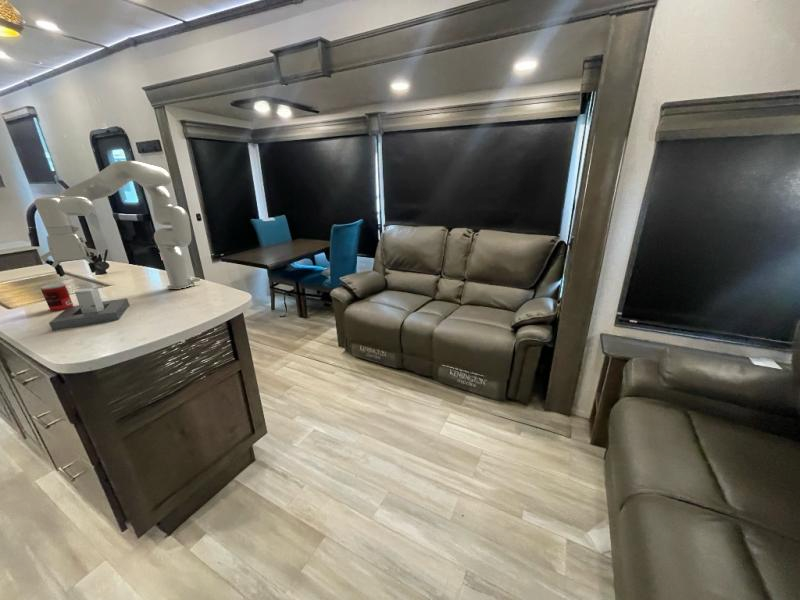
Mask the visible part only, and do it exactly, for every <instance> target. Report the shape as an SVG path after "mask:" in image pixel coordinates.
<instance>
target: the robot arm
mask: <svg viewBox="0 0 800 600" xmlns="http://www.w3.org/2000/svg"><path fill="white" fill-rule="evenodd" d="M171 181H172V178H171V175H170V173H169V172H168V171H167V169H165V168H162V167H160V166H156V165H152V164H148V163H145V162H141V161H137V160H118V161H115V162H112V163H111V164H109V165H108V166H106V167H105V168H104V169H102V170H100V171H99V172H97V173H95V175H93V176H92V177H89V178H87V179H85V180H82V181H81V182H79V183H76V184H74V185H72V186H70V187H68V188H66V189H65V190H63V191H62V192H60V193H58V195H56V196H55V197H42V198H41V197H39V198H36V199H35V200H34V206H35V207H36V209H37V212H38V214H39V216H40V220H41V222H42V224H43V226H44V228H45V230H46V233H47V236H46V241H47V242H46V243H47V246H48V252H46V253H44V254H43V255H40V256H39V258H40V260H42V261H43V262H45V264H47V265H49V266H51V267H52V268H54V270H55V271H56V275H59V277H61V278H62V277H64V276H65V275H66V273H65V270H64V269H63V266H62V265H60V264H61V262H71V261H77V260H84V261H86V262H88V266H89V270H90V271H91V273H97V270H98V267H97V264H96V261H97V259H98V258H99V256H100V255H99V254H100V250H98V249H95V248H91V247H90V248H89V247H88V246H87V244H86V242H85V240H84V239H83V238H82V235H81V234H80V233H78V231H80V227H78V226H75V225H74V224H73V222H72V220H71V217H75V216H77V217H82V216H83V217H84V216H88V215H90V214H92V213H93V212H94V211H95V206H94V203H93V201H95V200H98V199H99V200H100V199H102V198H107V197H109V196H112V195H114V194H116V193H117V192H118V191H120V190H121V189H122V188H124V187H125V186H126V185H127V184H128V183H130V182H136V183H137V184H138V185H140V187H142V188H143V189H144V190H146V191H147V193H148V194H149V197H150V200H151V204H152V210H153V211H152V212H153V217H154V220H155V222H156V223H157V224H159V225H161V226H162V225H163V226H171V227H162V228H159V229H157V230H156V231H155V232H154V234H153V238H154V242H155V244H156V246H157V247H158V250H159V252H160V256H161V258H162V262H163V265H164V269H165V271H166V275H167V278H168V281H169V282H168V283H169V285H167V287H166V288H167V290H169V289H180V290H182V289H181V288H185V289H187V288H186V287H189V286H192V285H194V284H195V283H196V282H201V278H200V277H194V278H193V277H191V276H190V274H189V269H188V266H187V263H186V259H185V255H184V252H183V250H182V249H181V248H185V247H188V246H189V245H191V242H192V232H191V231H192V230H191V229H192V228H191V222H190V217H189V214H188V212H187V211H186V209H184V208H183V207H181V206H178V205H174V202H173V198H172V194H171V193H170V191H169V190H168V189H167V186H168V185H170V184H171ZM70 216H71V217H70ZM76 232H77V233H76ZM91 253H92V254H93V256H90V255H91ZM50 256H51V258H52V259H53V260H51V259H49V257H50ZM194 286H195V285H194ZM192 287H193V286H192ZM189 288H190V287H189Z"/></svg>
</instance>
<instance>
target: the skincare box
mask: <svg viewBox="0 0 800 600" xmlns="http://www.w3.org/2000/svg"><path fill="white" fill-rule="evenodd" d="M74 294H75V297H76V300H77V302H78V305H79V306H80V308H81V311H82V314H85V313H92V312H98V311H104V310H105V309H104V306H103V303H102V302H103V300H102V297H101V294H100V291H99V288H97V287H95V288H94V287H93V288H91V287H90V288H80V289H77V290H75V291H74Z"/></svg>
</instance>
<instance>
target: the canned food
mask: <svg viewBox="0 0 800 600" xmlns="http://www.w3.org/2000/svg"><path fill="white" fill-rule="evenodd" d="M40 291H41V293H42V295H43V298H44V299H45V301H46V304H47V306H48V308H49V310H50V311H51V312H60V311H61V312H62V311H64V310H65V309H67V308H68V307H71V306H74V303H73V301H72V298H71V296H70V293H69V291H68V288H67V287H66V284H65V283H64V282H63V283H62V282H58V283H52V284H51V283H50V284H46V285H43V286H41V287H40Z"/></svg>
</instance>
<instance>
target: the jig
mask: <svg viewBox="0 0 800 600" xmlns="http://www.w3.org/2000/svg"><path fill="white" fill-rule="evenodd" d="M102 303H103V306H104V309H105V310H104V311H98V312H92V313H85V314H82V311H81V308H80V306H79V304H77V305H73V306H71V307H68V308H67V309H65V310H62V311H61V312H60V313H59V314H57V316H55V317H54V318H53V319H52V320H50V321H48V324H49V326H50V329H51V331H52V332H56V331H60V330H61V331H62V330H66V329H73V328H78V327H84V326H91V325H96V324H101V323H102V324H103V323H108V322H114V321H119V320H120V319H121V318H122V316H123V314H124V313H125V312H126V311H127V309H128V308H129V307H130V302H129V299H128V298H127V297H125V298H120V299H113V300H105V301H102Z"/></svg>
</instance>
